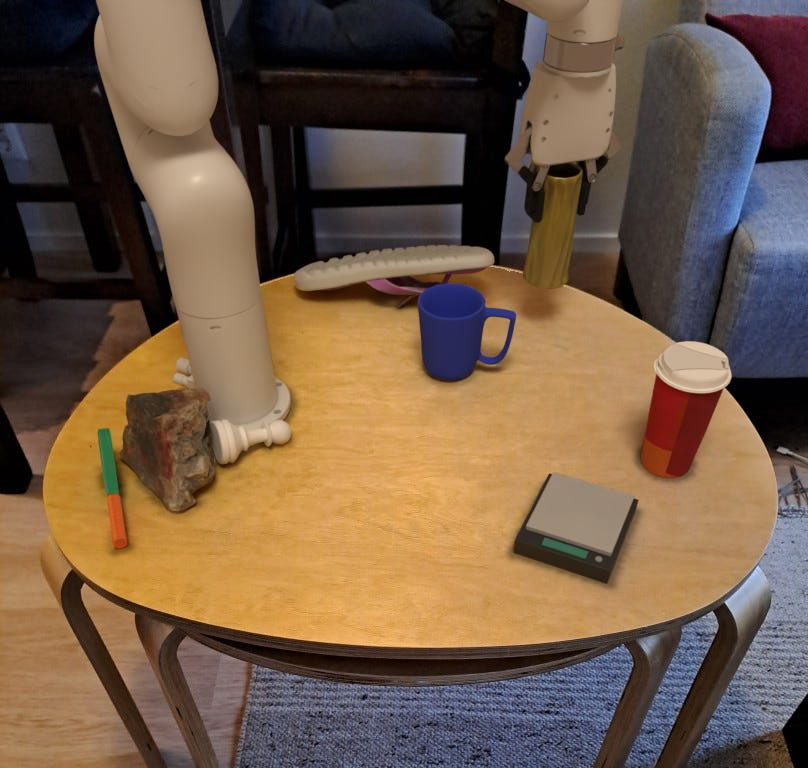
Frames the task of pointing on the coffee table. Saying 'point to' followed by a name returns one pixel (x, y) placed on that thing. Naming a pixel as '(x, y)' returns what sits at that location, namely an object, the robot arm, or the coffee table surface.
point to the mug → (456, 330)
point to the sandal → (394, 268)
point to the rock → (170, 443)
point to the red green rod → (112, 488)
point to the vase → (554, 229)
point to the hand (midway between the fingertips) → (554, 212)
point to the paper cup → (682, 405)
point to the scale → (576, 526)
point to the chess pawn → (244, 438)
